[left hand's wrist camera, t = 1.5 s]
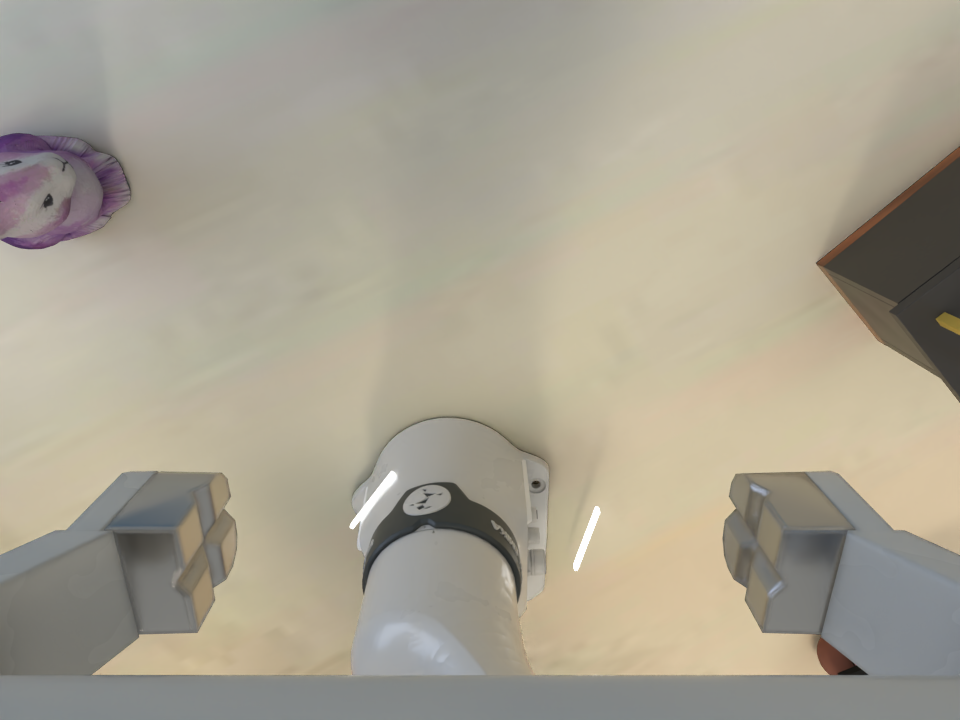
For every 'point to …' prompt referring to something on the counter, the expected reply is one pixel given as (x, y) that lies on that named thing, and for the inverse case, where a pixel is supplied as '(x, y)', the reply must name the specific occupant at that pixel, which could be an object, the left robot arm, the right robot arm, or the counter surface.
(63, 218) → the figurine
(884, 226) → the chest
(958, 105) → the counter surface
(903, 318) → the lid
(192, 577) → the left robot arm
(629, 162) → the counter surface
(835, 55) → the counter surface
